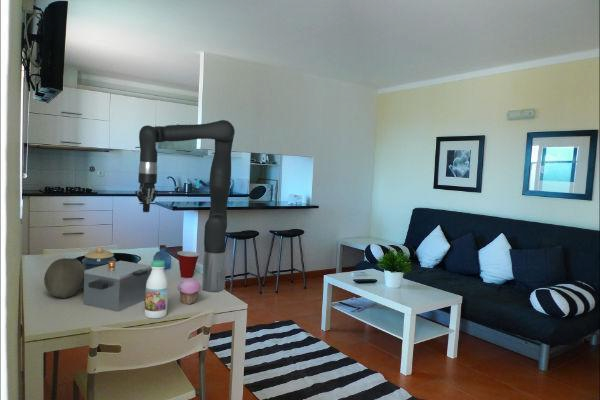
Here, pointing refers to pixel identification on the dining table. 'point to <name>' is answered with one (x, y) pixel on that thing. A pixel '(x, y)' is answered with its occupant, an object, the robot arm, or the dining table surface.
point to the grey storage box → (114, 291)
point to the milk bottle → (156, 291)
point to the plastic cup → (187, 263)
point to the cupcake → (189, 290)
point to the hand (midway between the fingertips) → (146, 212)
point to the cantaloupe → (64, 277)
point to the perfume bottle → (163, 256)
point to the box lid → (119, 270)
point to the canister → (97, 259)
